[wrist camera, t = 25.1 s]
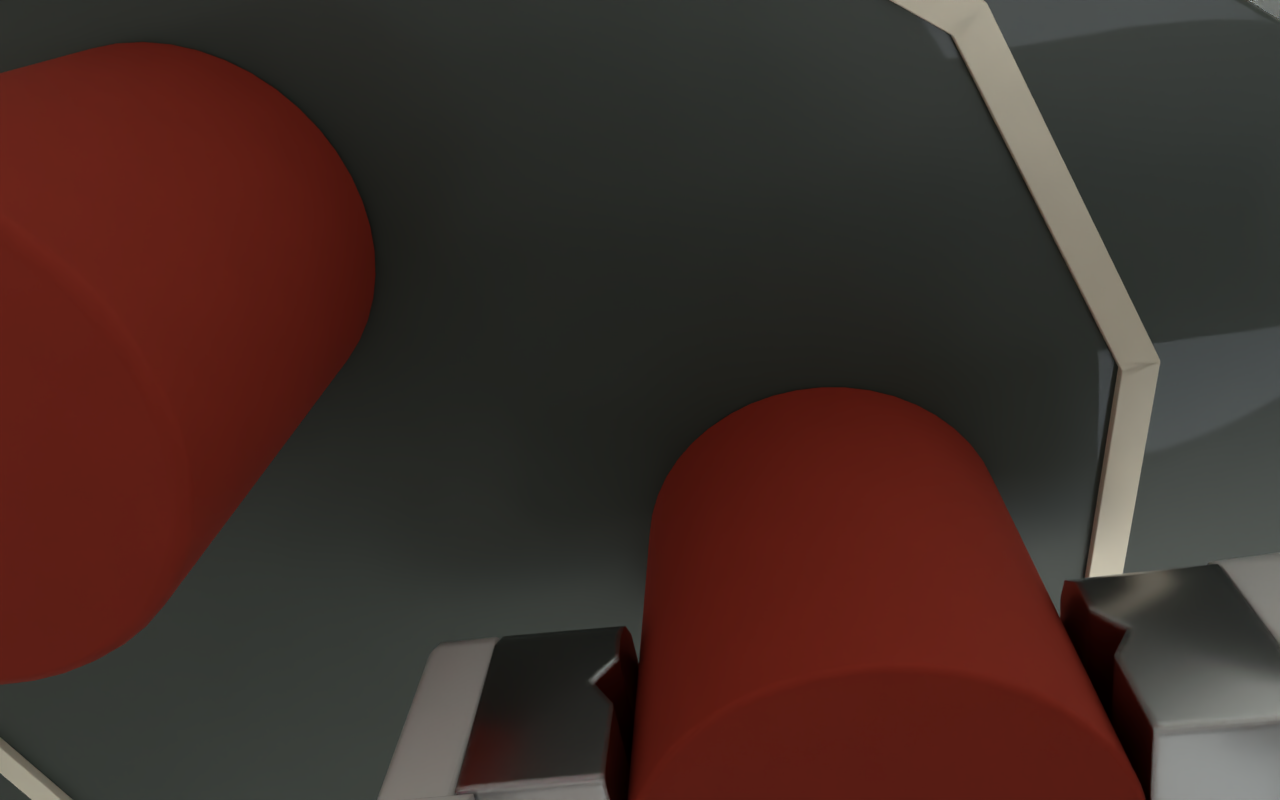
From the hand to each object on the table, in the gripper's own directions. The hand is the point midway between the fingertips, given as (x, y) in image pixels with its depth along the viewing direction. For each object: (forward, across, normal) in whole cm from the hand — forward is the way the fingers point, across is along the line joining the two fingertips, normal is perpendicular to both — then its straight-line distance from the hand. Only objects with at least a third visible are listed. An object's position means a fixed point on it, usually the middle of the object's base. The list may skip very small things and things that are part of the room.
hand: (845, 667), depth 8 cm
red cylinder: (+2, +5, -4) cm, 6 cm away
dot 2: (+2, 0, 0) cm, 2 cm away
